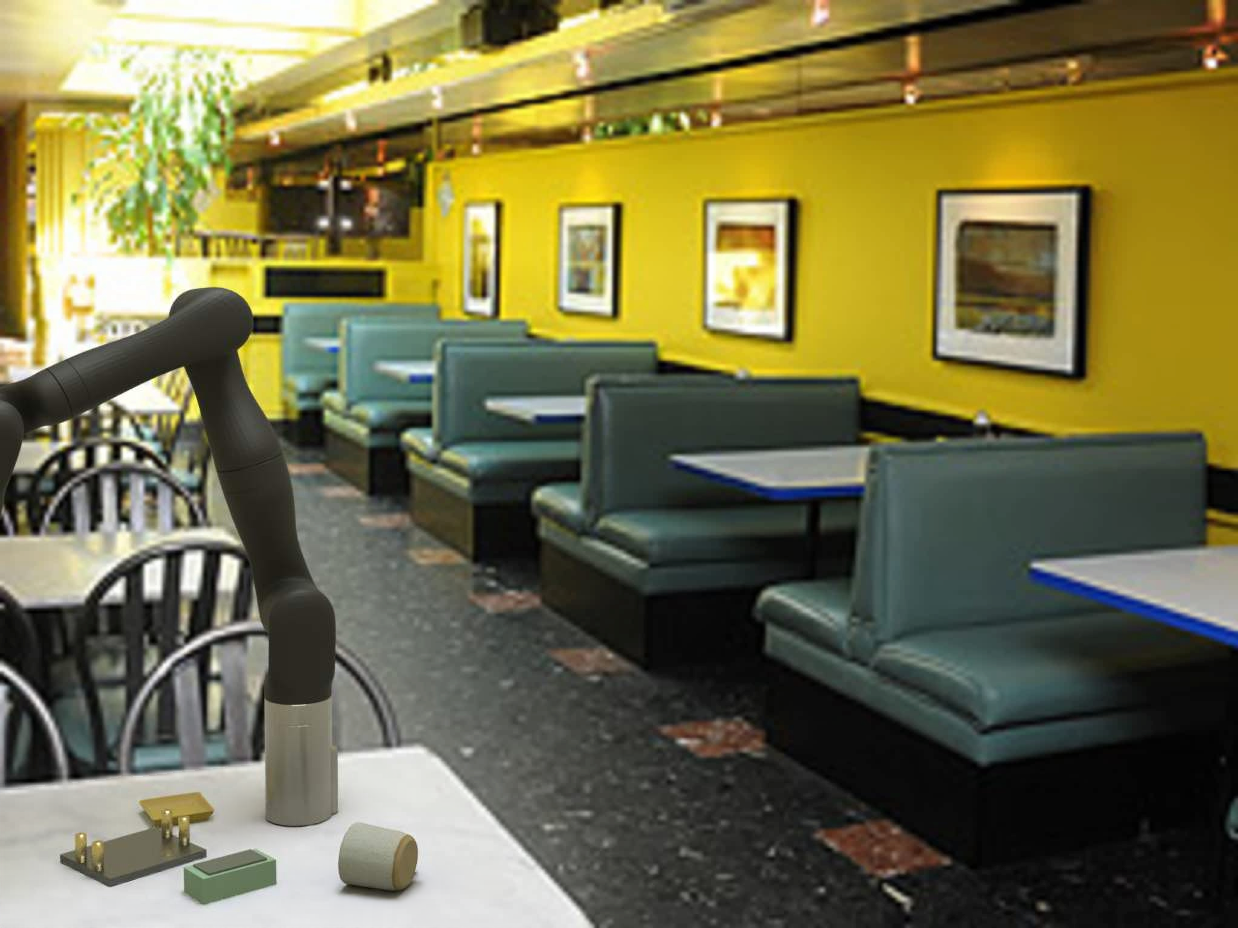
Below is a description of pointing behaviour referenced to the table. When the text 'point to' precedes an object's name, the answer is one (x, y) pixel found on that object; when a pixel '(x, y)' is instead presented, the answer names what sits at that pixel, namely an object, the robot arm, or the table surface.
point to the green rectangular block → (229, 876)
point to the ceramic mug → (377, 857)
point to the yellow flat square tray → (178, 807)
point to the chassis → (135, 852)
